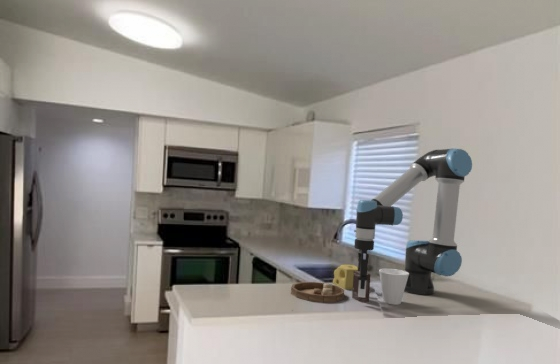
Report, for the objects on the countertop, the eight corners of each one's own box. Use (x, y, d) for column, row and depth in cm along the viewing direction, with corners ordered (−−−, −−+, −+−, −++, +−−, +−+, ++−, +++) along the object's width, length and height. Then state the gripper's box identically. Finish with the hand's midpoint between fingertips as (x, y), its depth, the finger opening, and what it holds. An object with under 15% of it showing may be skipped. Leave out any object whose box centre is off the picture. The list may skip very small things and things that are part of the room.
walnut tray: (343, 293, 182) (343, 285, 182) (343, 307, 161) (344, 298, 161) (294, 288, 185) (294, 280, 185) (288, 301, 164) (289, 292, 164)
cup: (388, 307, 166) (390, 275, 166) (371, 298, 177) (373, 268, 177) (413, 305, 170) (415, 274, 170) (394, 297, 181) (396, 268, 181)
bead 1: (331, 292, 178) (332, 283, 178) (331, 294, 174) (332, 285, 174) (323, 291, 178) (323, 283, 178) (322, 293, 175) (323, 285, 175)
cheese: (332, 286, 193) (333, 264, 193) (352, 285, 198) (353, 264, 198) (345, 292, 184) (346, 269, 184) (365, 291, 188) (367, 268, 188)
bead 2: (331, 297, 170) (332, 288, 170) (331, 299, 166) (332, 290, 166) (322, 296, 170) (323, 287, 170) (322, 298, 167) (322, 289, 167)
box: (351, 300, 171) (353, 270, 171) (360, 300, 173) (362, 270, 173) (359, 305, 166) (362, 274, 166) (369, 304, 168) (371, 273, 168)
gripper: (353, 234, 182) (350, 284, 182) (356, 242, 158) (351, 299, 158) (371, 236, 181) (368, 286, 181) (376, 244, 157) (372, 302, 157)
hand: (360, 292), depth 169 cm, fingers open, 13 cm apart
